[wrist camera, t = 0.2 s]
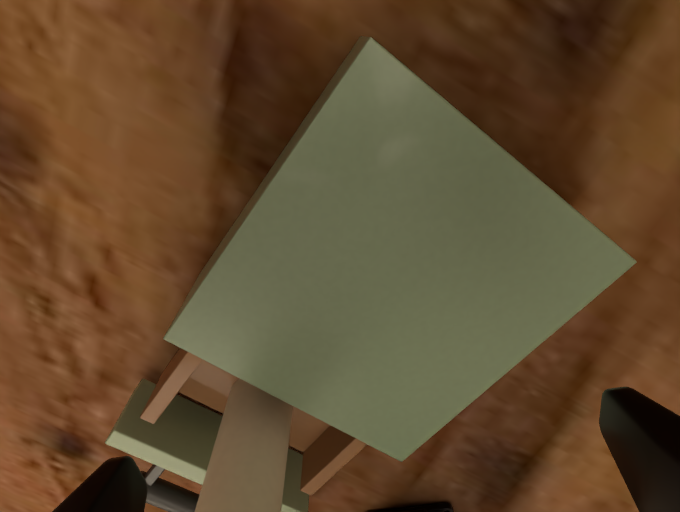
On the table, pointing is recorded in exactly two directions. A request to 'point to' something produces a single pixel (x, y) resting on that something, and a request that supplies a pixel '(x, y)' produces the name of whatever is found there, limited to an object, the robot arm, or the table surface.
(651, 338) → the table surface
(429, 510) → the robot arm
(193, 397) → the drawer
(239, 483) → the lotion bottle
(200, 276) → the cabinet
